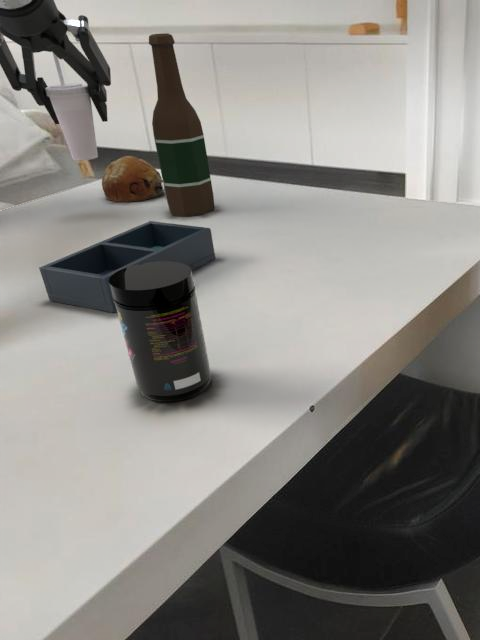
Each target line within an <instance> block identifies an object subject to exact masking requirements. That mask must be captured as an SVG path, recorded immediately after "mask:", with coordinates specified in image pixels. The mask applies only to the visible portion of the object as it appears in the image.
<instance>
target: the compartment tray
mask: <svg viewBox="0 0 480 640" xmlns="http://www.w3.org/2000/svg"><path fill="white" fill-rule="evenodd" d="M213 260H216V253H215V247H214V241H213V236H212V229H211V228H210V227H206V226H205V227H204V226H197V225H196V226H195V225H187V224H179V223H171V222H161V221H154V220H149V221H147V222H145V223H142V224H139V225H137V226H135V227H132V228H129V229H128V230H125V231H123V232H121V233H118V234H116V235H113V236H110V237H108V238H107V239H104V240H101V241H99V242H97V243H94V244H92V245H89V246H87V247H84V248H82V249H80V250H77V251H75V252H73V253H70V254H68V255H66V256H63V257H61V258H59V259H55V260H54V261H51V262H50V263H47V264H44V265H41V266H40V267H38V270H39V273H40V276H41V278H42V282H43V284H44V287H45V290H46V294H47V297H48V301H50V302H54V303H55V302H56V303H61V304H65V305H72V306H76V307H82V308H86V309H92V310H98V311H103V312H108V313H117V309H116V305H115V303H114V301H113V296H112V292H111V288H110V285H109V278H110V277H111V276H112V275H113V274H114V273H116V272H117V271H119V270H122V269H124V268H127V267H130V266H133V265H138V264H142V263H149V262H160V261H169V262H178V263H183V264H186V265H188V266H189V267H190V268H191V270H192V272H193V271H195V270H197V269H199V268H201V267H202V266H204V265H207V264H209V263H210V262H213Z"/></svg>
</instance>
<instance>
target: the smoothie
mask: <svg viewBox="0 0 480 640" xmlns="http://www.w3.org/2000/svg"><path fill="white" fill-rule="evenodd" d="M52 56H53V59H54V63H55V67H56V71H57V76H58V79H59V83H60V84H55V85H49V86H48V87H46V88H45V91H46V94H47V95H46V96H48V97H49V98H50V100H51V103H52V106H53V108H54V111H55V113H56V116H57V119H58V121H59V124H58V125H59V126H60V129H61V131H62V135H63V137H64V140H65V141H66V144H67V147H68V150H69V152H70V154H71V157H72V159H73V161H90V160H95V159H97V158H98V157H99V152H98V146H97V139H96V130H95V129H96V128H95V123H94V116H93V115H94V114H93V106H92V99H91V97H90V95H89V93H88V84H87V83H77V82H76V83H75V82H74V83H65V79H64V76H63V71H62V68H61V65H60V59H59V58H58V57H57V56H56V55H55V54H54V53H53V52H52Z"/></svg>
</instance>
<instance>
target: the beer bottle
mask: <svg viewBox="0 0 480 640" xmlns="http://www.w3.org/2000/svg"><path fill="white" fill-rule="evenodd" d="M175 43H176V42H175V39H174V37H173V35H172V34H171V33H167V32H165V33H153V34H152V33H151V34H150V35H148V44H149V46H151V52H152V59H153V60H152V61H153V67H154V75H155V81H156V92H157V100H156V103H155V106H154V108H153V112H152V119H151V120H152V121H151V126H152V134H153V138H154V139H153V140H154V145H155V149H156V154H157V160H158V164H159V169H160V175H161V179H162V180H163V182H162V185H163V190H164V193H165V199H166V202H167V206H168V210H169V212H170V214H171V215H172V216H176V217H177V216H178V217H185V218H187V217H195V216H202V215H206V214H207V213H211V212H213V211H214V210H215V207H216V206H215V197H214V191H213V183H212V178H211V173H210V165H209V160H208V154H207V148H206V141H205V135H204V131H203V130H204V129H203V126H202V122H201V119H200V117H199V115H198V113H197V111H196V109H195V107H193V105H192V104H191V103H190V101H189V100H188V99H187V95H186V93H185V91H184V87H183V84H182V78H181V74H180V70H179V65H178V62H177V60H178V59H177V57H176V52H175V47H174V44H175Z"/></svg>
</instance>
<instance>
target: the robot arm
mask: <svg viewBox="0 0 480 640" xmlns="http://www.w3.org/2000/svg"><path fill="white" fill-rule="evenodd" d="M67 32H70V33H71V34H72V36H73V37H74V38H75V41H76V42H78V43H79V44H80V48H81V49H82V51H83V52H81V51H80V49H78V48H77V47H76V46H75V44H74V43H72V41H71V40H70V38H69V36H68V34H67ZM6 38H7V39H9V40H10V41H12V42H14V43H15V44H17V45H19V47H20V48H21V56H22V61H23V70H24V73H21V70H20V68H19V66H18V64H17V62H16V60H15V58H14V55H13V54H12V52H11V50H10V47H9V45H8V44H7V41H6ZM41 52H47V53H48V52H49V53H52V54H53V53H54V54H55V55H56V56H57V57H58V60H63V61H64V62H65V63H66V64H67V65H68V66H69V67H70V68H71V69H72V70H73V71H74V72H75V73H76V74H77V75H78V76H79V77H80V78H81V79H82V80H83V81H84V82H85V84H88V93H89V95H90V99H91V102H92V103H93V106H94V107H95V110H96V112H97V113H98V115H99V117H100V120H101V121H102V122H104V123H106V122H108V105H107V102H108V99H107V98H108V96H107V93H108V92H107V89H106V87H110V86H111V85H112V78H111V66H110V64H108V61H107V59H106V57H105V56H104V54H103V52H102V51H101V49H100V47H99V45H98V42H97V41H96V39H95V38H94V36H93V34H92V32H91V31H90V25H89V18H88V17H87V16H86V15H83V14H80V15H79V16H78V17H77V20H76V19H70V18H67V17H66V15H64V13H62V12H61V11H60V10H59V9H58V7H57V5H56V2H55V0H0V67H1V69H2V71H3V73H4V75H5V77H6V79H7V81H8V82H9V84H10V86H11V88H12V90H14V91H17V92H20V91H22V89H23V90H26V91H27V92H28V93H30V95H31V96H32V98H33V99H34V101H35V103H36V104H37V105H38V106H39V107H43V106H44V108H45V109H46V111H47V113H48V114H49V116H50V118H51V120H52V121H53V123H54V124H55V125H60V124H59V121H58V119H57V116H56V113H55V111H54V108H53V106H52V103H51V100H50V98H49V97H48V96H46V95H47V94H46V91H45V88H46V87H49V86H48V85H47V82H46V81H45V79H44V77H41V76H40V77H39V76H38V77H37V73H36V72H37V71H36V66H35V56H34V55H35V53H37V54H38V53H41ZM83 53H84V54H83ZM105 86H106V87H105Z"/></svg>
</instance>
